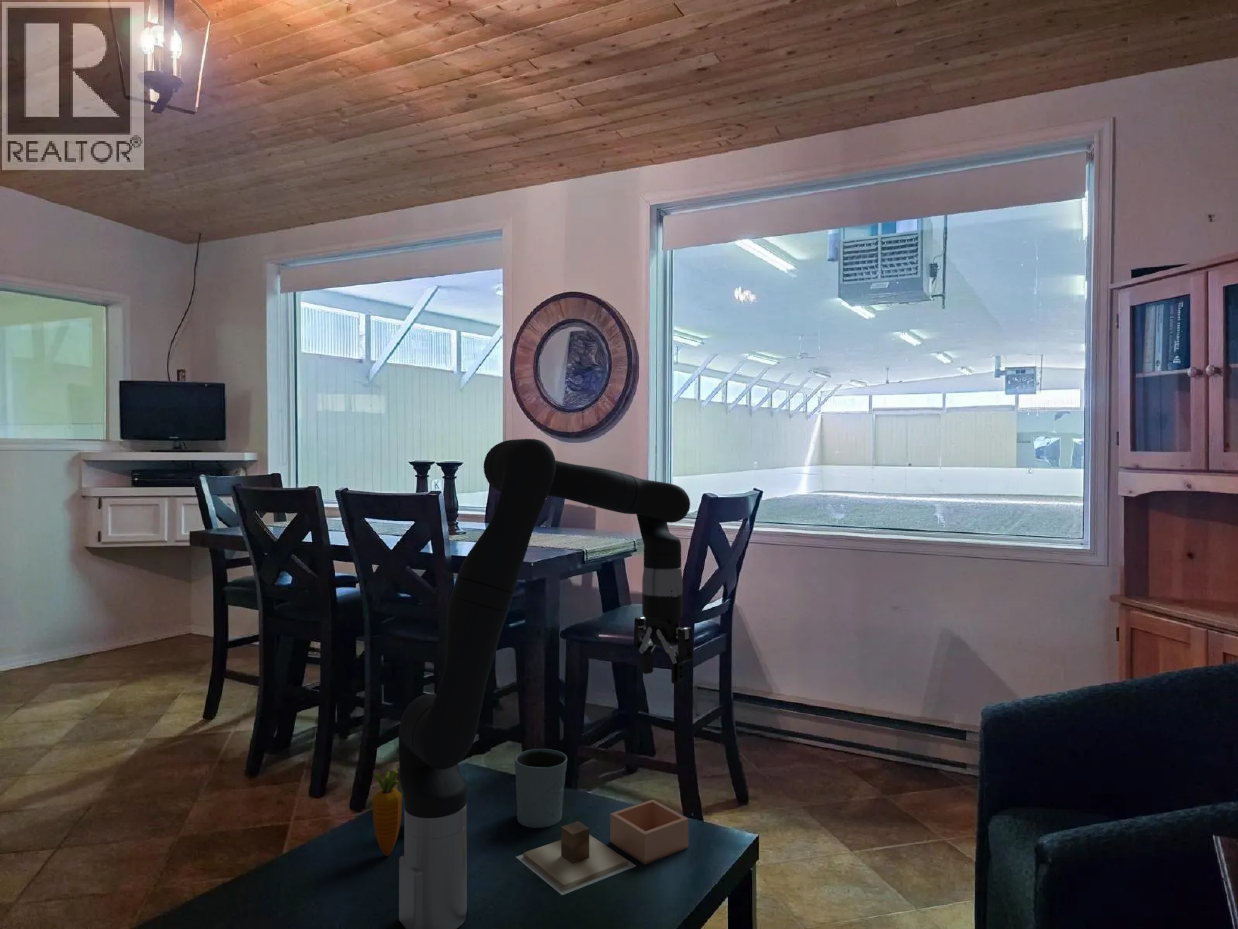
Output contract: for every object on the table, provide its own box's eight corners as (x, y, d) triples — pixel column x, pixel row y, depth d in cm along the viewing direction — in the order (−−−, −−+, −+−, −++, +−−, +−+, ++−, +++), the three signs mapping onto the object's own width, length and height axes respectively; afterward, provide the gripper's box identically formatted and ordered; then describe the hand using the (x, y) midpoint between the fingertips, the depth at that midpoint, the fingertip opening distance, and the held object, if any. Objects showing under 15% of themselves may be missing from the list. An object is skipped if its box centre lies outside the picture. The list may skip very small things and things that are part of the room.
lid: (563, 890, 123) (564, 854, 123) (523, 857, 134) (523, 824, 134) (628, 865, 131) (628, 831, 131) (584, 836, 141) (585, 804, 141)
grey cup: (508, 813, 152) (508, 752, 152) (556, 804, 156) (556, 745, 156) (524, 836, 142) (524, 771, 142) (574, 825, 147) (574, 762, 147)
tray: (562, 897, 122) (562, 895, 122) (515, 859, 134) (515, 857, 134) (636, 868, 131) (636, 866, 131) (586, 834, 143) (586, 832, 143)
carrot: (366, 858, 134) (366, 772, 134) (387, 846, 138) (387, 763, 138) (387, 865, 131) (387, 778, 132) (407, 853, 136) (408, 768, 136)
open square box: (644, 866, 131) (645, 834, 131) (610, 844, 139) (610, 813, 139) (688, 849, 137) (688, 818, 137) (652, 828, 145) (652, 799, 145)
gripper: (623, 588, 147) (623, 673, 147) (672, 598, 135) (671, 690, 135) (653, 584, 151) (653, 667, 151) (703, 594, 140) (703, 683, 140)
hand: (662, 678), depth 143 cm, fingers open, 8 cm apart
